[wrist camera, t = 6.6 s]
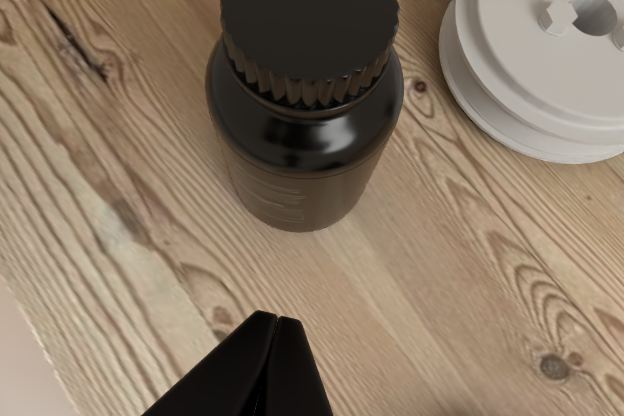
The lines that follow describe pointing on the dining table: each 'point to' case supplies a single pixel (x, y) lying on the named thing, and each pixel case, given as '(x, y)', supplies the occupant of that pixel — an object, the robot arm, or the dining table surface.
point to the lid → (540, 74)
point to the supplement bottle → (304, 103)
